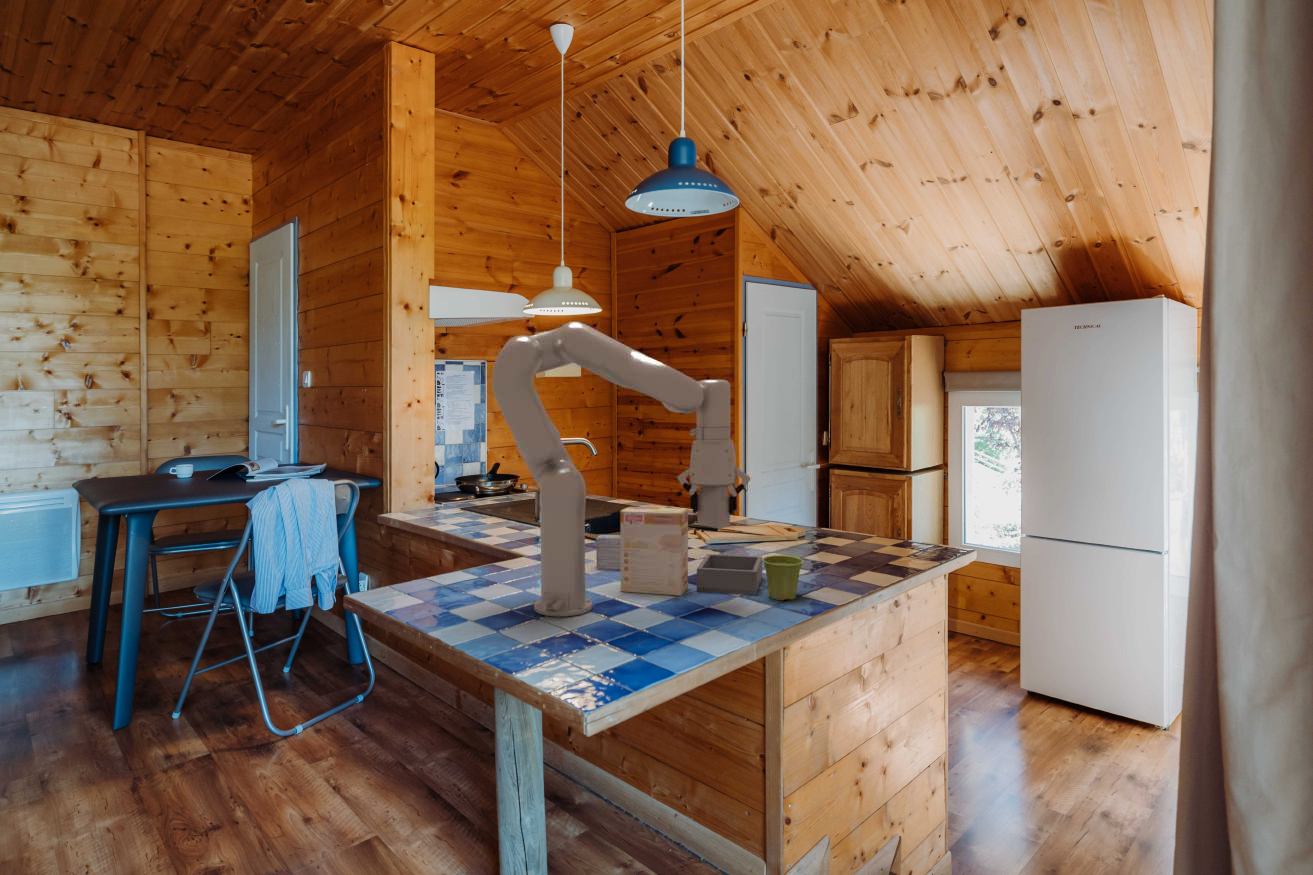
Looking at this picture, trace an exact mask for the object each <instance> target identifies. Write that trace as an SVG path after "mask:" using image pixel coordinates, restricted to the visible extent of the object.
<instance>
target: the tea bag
mask: <svg viewBox="0 0 1313 875" xmlns="http://www.w3.org/2000/svg"><path fill="white" fill-rule="evenodd" d="M700 487H701V488H700V490H699V492H698V493H699V494H698V495H699V496H698V511H697V525H700V526H704V527H710V528H713V529H722V528H723V529H724V528H727V527H731V514H729V497H730V496H729V493H728V489H727V488H726V487H727V486H700Z"/></svg>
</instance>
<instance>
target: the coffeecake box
mask: <svg viewBox="0 0 1313 875" xmlns="http://www.w3.org/2000/svg"><path fill="white" fill-rule="evenodd" d="M688 509H689V508H676V507H675V508H673V507H672V508H671V507H670V508H669V507H649V506H648V507H646V506H645V507H644V506H643V507H642V506H628V507H625V508H623V509H621V510H620V513H619V514H620V515H619V516H620V535H621V570H620V591H621V593H622V592H623V593H638V594H639V593H640V594H650V595H651V594H653V595H654V594H655V595H665V596H666V595H667V596H680V597H682V596H683V594H684V593H685V592H686V591H688V589H689V540H688V539H689V536H688V535H689V514H688V513H689V512H688V511H689V510H688Z"/></svg>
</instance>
